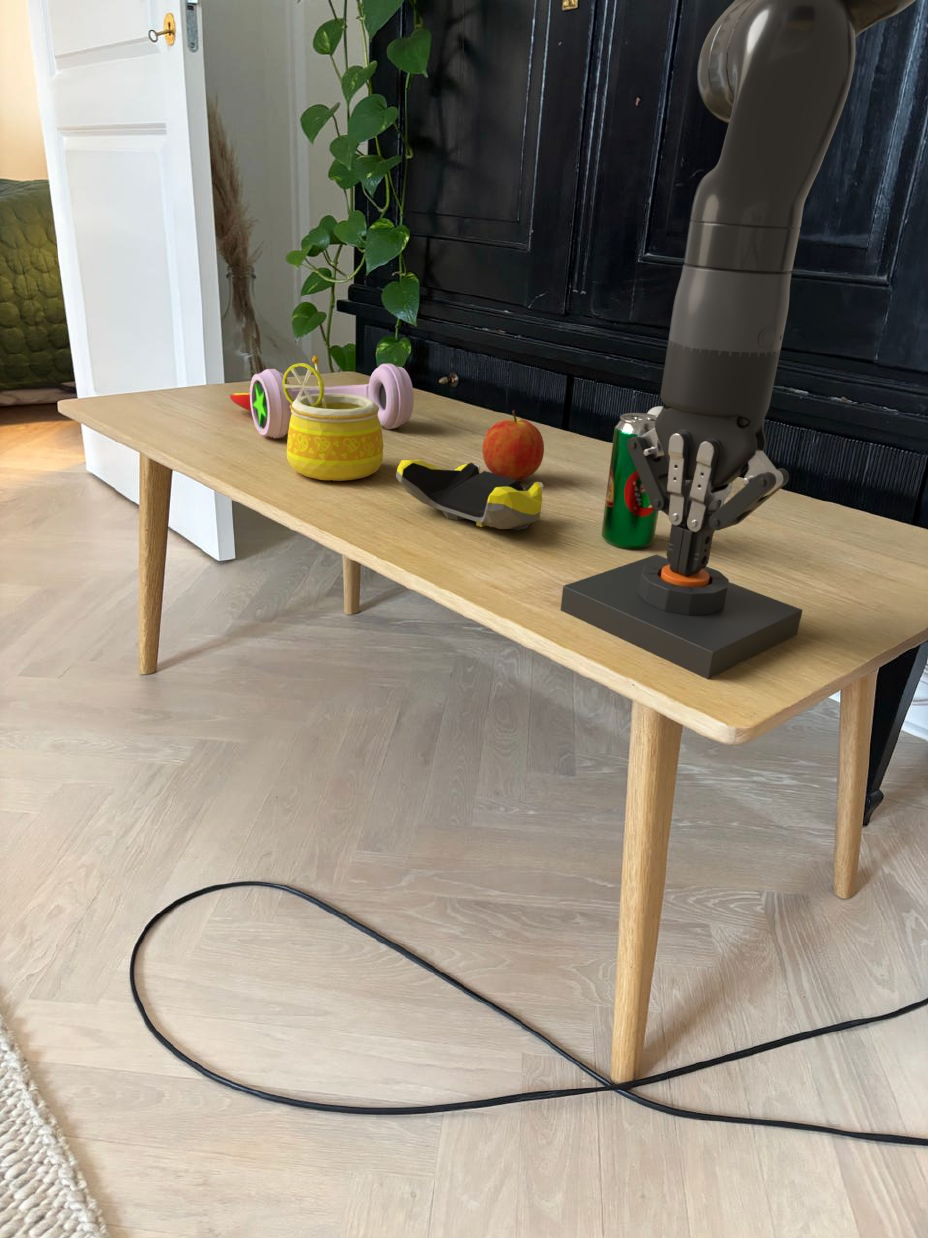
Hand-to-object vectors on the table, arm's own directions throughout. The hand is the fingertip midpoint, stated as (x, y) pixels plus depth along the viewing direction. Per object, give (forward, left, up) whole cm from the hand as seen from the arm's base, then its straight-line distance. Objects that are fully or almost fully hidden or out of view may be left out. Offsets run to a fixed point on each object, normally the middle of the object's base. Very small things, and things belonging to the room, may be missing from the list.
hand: (684, 571), depth 70 cm
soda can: (+14, -11, -4) cm, 18 cm away
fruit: (+35, -16, -4) cm, 39 cm away
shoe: (+27, -3, -4) cm, 27 cm away
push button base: (0, 0, -4) cm, 4 cm away
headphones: (+69, -12, -4) cm, 70 cm away
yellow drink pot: (+49, -1, -4) cm, 49 cm away
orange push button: (0, 0, -2) cm, 2 cm away
